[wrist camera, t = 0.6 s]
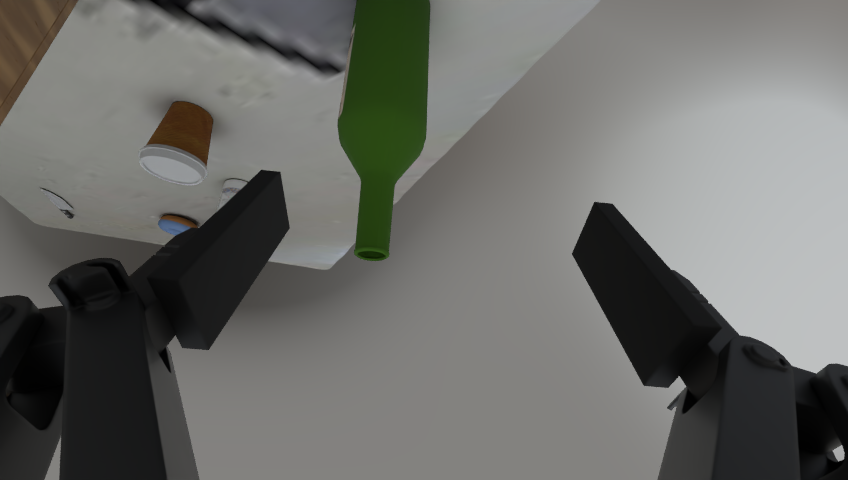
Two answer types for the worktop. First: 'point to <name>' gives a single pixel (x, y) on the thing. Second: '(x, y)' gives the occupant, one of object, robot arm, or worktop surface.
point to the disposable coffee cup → (179, 145)
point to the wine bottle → (384, 108)
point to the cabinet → (26, 42)
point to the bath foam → (230, 191)
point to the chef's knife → (59, 203)
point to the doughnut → (175, 224)
